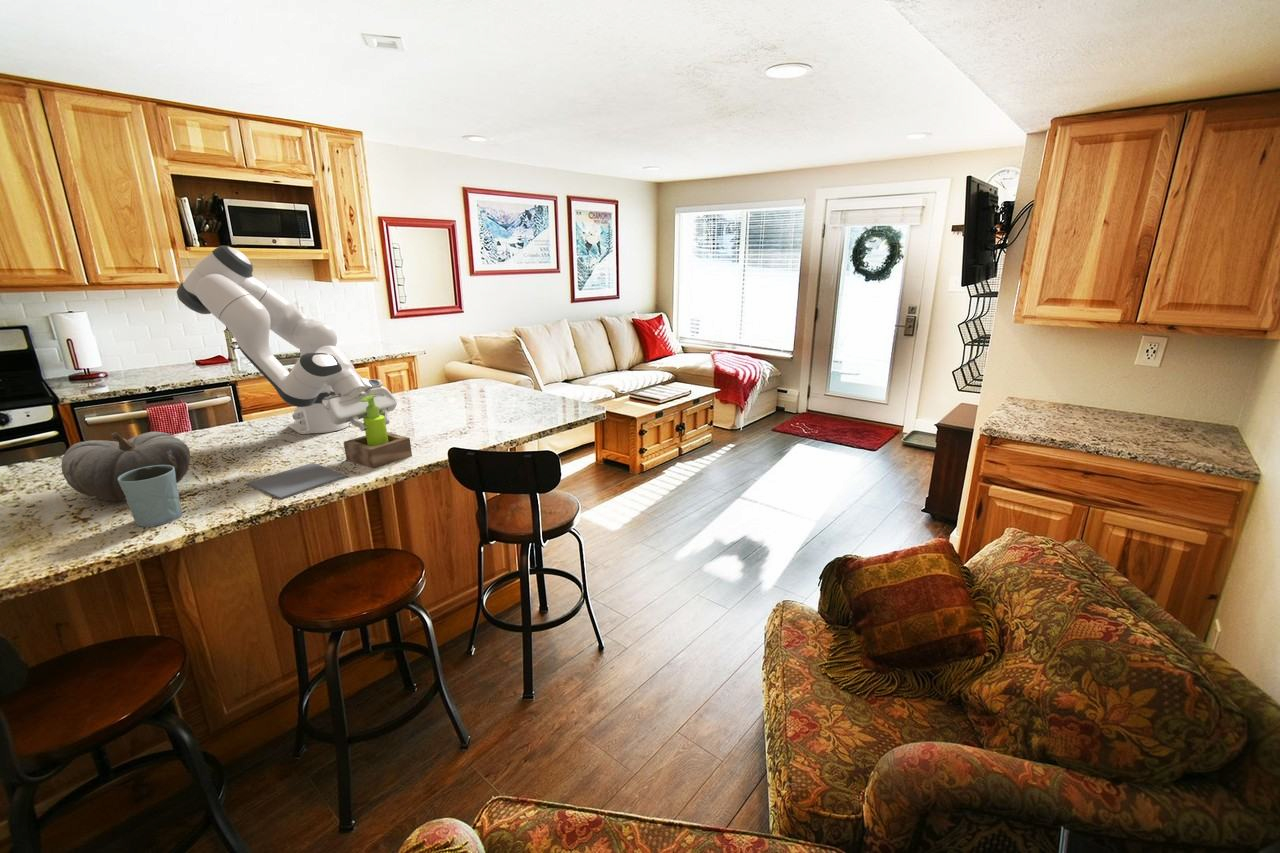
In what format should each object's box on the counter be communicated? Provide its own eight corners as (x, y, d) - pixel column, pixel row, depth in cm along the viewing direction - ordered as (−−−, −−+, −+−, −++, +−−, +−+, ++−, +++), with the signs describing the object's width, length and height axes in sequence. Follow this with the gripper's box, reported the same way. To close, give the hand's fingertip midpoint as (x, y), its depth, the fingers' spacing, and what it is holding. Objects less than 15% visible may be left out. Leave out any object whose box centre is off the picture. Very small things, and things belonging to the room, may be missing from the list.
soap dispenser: (364, 462, 167) (353, 399, 161) (376, 454, 174) (366, 393, 168) (383, 462, 167) (372, 399, 161) (394, 454, 173) (384, 393, 167)
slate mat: (246, 484, 151) (246, 482, 151) (313, 464, 166) (312, 462, 165) (280, 499, 142) (280, 497, 142) (347, 476, 156) (347, 474, 156)
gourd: (39, 493, 139) (37, 427, 136) (153, 474, 162) (153, 416, 159) (103, 518, 132) (102, 448, 129) (212, 494, 155) (214, 434, 152)
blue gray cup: (180, 506, 138) (168, 461, 135) (191, 517, 132) (179, 471, 129) (127, 520, 131) (113, 473, 127) (136, 533, 125) (121, 484, 121)
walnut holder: (346, 460, 169) (343, 441, 167) (384, 448, 180) (382, 430, 178) (374, 469, 162) (371, 449, 160) (412, 456, 173) (409, 437, 171)
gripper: (321, 392, 159) (346, 429, 157) (385, 379, 176) (408, 412, 174) (315, 404, 163) (340, 441, 161) (378, 390, 179) (401, 424, 177)
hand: (376, 426), depth 167 cm, fingers closed on soap dispenser, 6 cm apart
